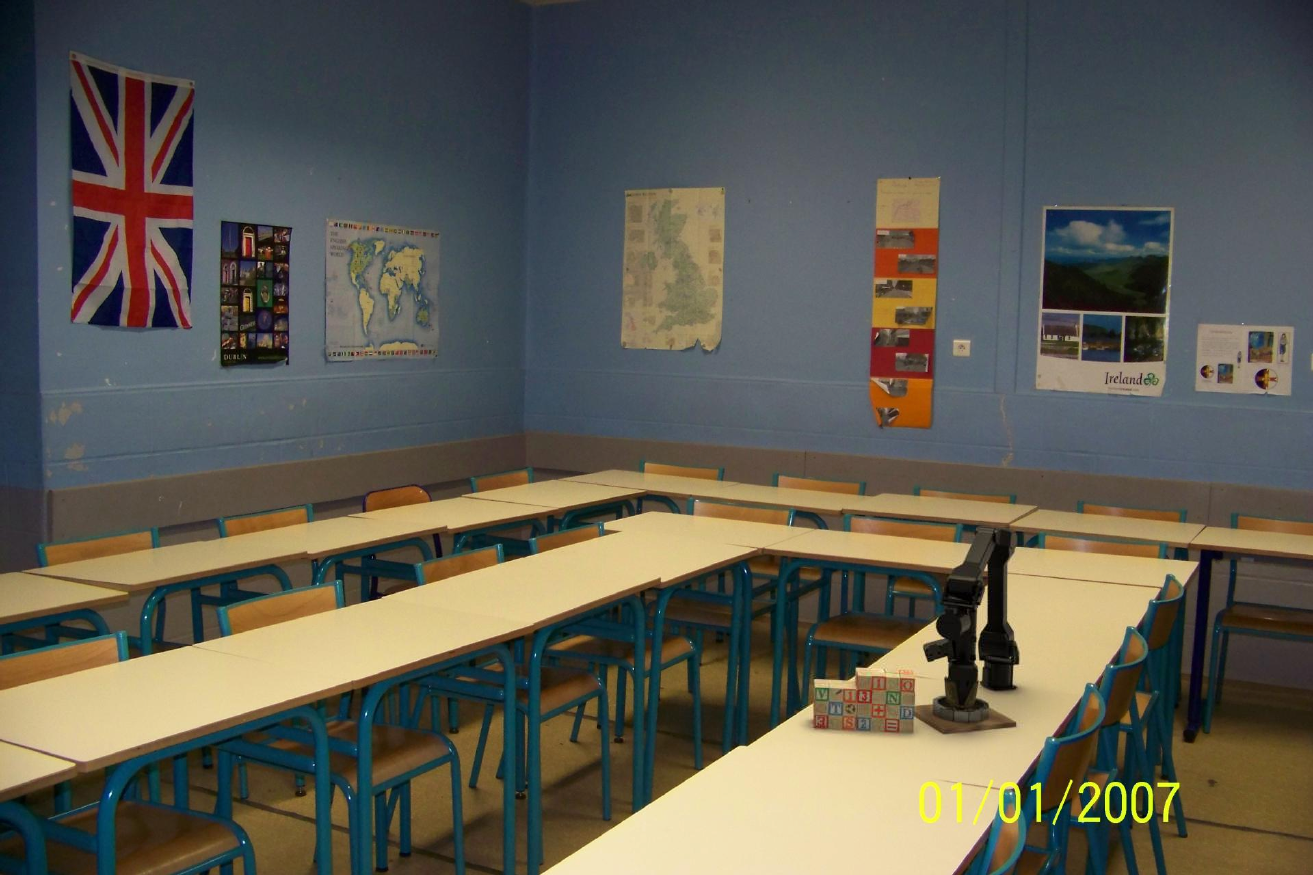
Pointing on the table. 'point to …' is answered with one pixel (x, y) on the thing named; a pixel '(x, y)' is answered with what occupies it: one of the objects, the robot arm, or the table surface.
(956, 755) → the table surface
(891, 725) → the stack of blocks
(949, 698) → the cup
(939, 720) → the base plate
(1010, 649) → the robot arm
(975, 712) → the gray stone ring
